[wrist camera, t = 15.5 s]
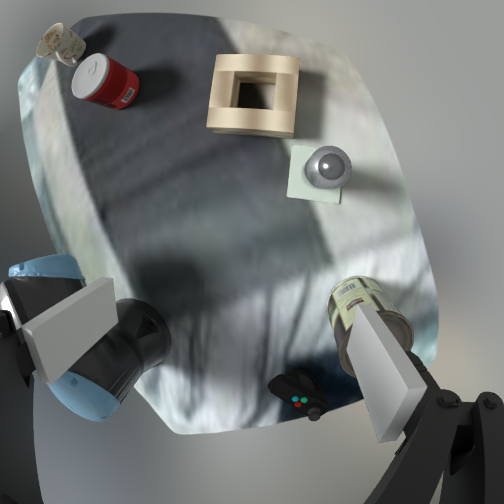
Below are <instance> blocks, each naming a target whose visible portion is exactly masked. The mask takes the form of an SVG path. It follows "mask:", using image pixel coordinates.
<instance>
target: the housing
mask: <svg viewBox="0 0 504 504" xmlns="http://www.w3.org/2000/svg"><path fill="white" fill-rule="evenodd" d="M299 59H300V58H298V57H288V56H275V55H255V54H222V55H217V57H216V63H215V69H214V76H213V82H212V89H211V96H210V103H209V111H208V119H207V128H209V129H210V130H211V131H213V132H214V133H222V134H242V135H257V136H269V137H279V138H288V139H293V134H294V123H295V112H296V100H297V87H298V73H299ZM240 83H263V84H276V87H275V97H274V108H273V110H266V109H250V108H237V105H238V97H239V89H240Z"/></svg>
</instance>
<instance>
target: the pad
mask: <svg viewBox="0 0 504 504" xmlns="http://www.w3.org/2000/svg"><path fill="white" fill-rule="evenodd" d="M317 149H319V148H313V147H305V146H297V145H292V153H291V163H290V173H289V182H288V191H287V197H293V198H300V199H308V200H315V201H322V202H329V203H336V204H339V198H340V190H341V187H339V188H336V189H318V188H311V187H309V186H307V185H306V184H305V183H304V182H303V180H302V178H301V169H302V167H303V165H304V164H305V163H306V161H307V160H308V159H309V158H310V157H311V155H312V154H313V153H314V152H315V151H316V150H317Z"/></svg>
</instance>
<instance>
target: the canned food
mask: <svg viewBox="0 0 504 504" xmlns="http://www.w3.org/2000/svg"><path fill="white" fill-rule="evenodd" d="M139 87H140V82H139V79H138V77H137V75H136V74H135V73H134V72H132V71H131V70H129V69H128V68H126V67H124V66H123V65H121V64H119V63H118V62H116V61H114V60H113V59H111V58H109V57H108V56H106V55H104V54H100V53H96V54H93V55H91V56H89V57H88V58H86V59H85V60H84V61H83V62H82V63H81V64H80V66H79V67H78V69H77V70H76V72H75V74H74V77H73V80H72V92H73V94H74V95H75V96H76V97H78V98H80V99H83V100H86V101H89V102H92V103H95V104H99V105H102V106H105V107H108V108H111V109H115V110H116V109H122V108H125V107H127V106H128V105H129V104H131V103H132V101H133V100H134V99H135V98H136V96H137V94H138V91H139Z"/></svg>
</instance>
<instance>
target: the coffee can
mask: <svg viewBox="0 0 504 504" xmlns="http://www.w3.org/2000/svg"><path fill="white" fill-rule="evenodd" d="M357 304H365V305H372V307H373V308H374V309H375V311H376V312H377V313H378V315H379V316H380V318H381V319H382V320H383V322H384V323H385V325H386V326H387V327H388V329H389V330H390V332H391V333H392V334H393V336H394V337H395V339H396V340H397V342H398V343H399V344H400V346H401V347H402V349H403V350H404V351H411V349H412V346H413V341H414V333H413V328H412V326H411V324H410V323H409V321H408V320H407V319H406V318H405V317H404V316H402V314H401V313H400V312H399V311H398V309H397V308H396V307H395V306H394V304H393V303H392V302H391V301H390V299H389V298H388V297H387V296H386V295H385V294H384V292H383V291H382V290H381V289H380V287H379V286H378V284H377V283H376V282H374V281H373V280H372V279H370V278H367V277H364V276H354V277H349V278H347V279H345V280H343V281H341V282H340V283H338V284H337V285H336V286H335V287H334V288H333V290H332V291H331V293H330V295H329V297H328V300H327V305H326V309H327V315H328V317H329V320H330V323H331V326H332V330H333V333H334V337H335V341H336V345H337V348H338V351H339V359H340V363H341V366H342V368H343V369H344V371H345V372H346V373H348V374H349V375H351V376H352V377H355V378H357V377H356V374H355V371H354V369H353V366H352V363H351V361H350V358H349V355H348V353H347V350H346V349H347V346H348V342H349V338H350V334H351V330H352V326H353V322H354V318H355V313H356V309H357Z"/></svg>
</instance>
